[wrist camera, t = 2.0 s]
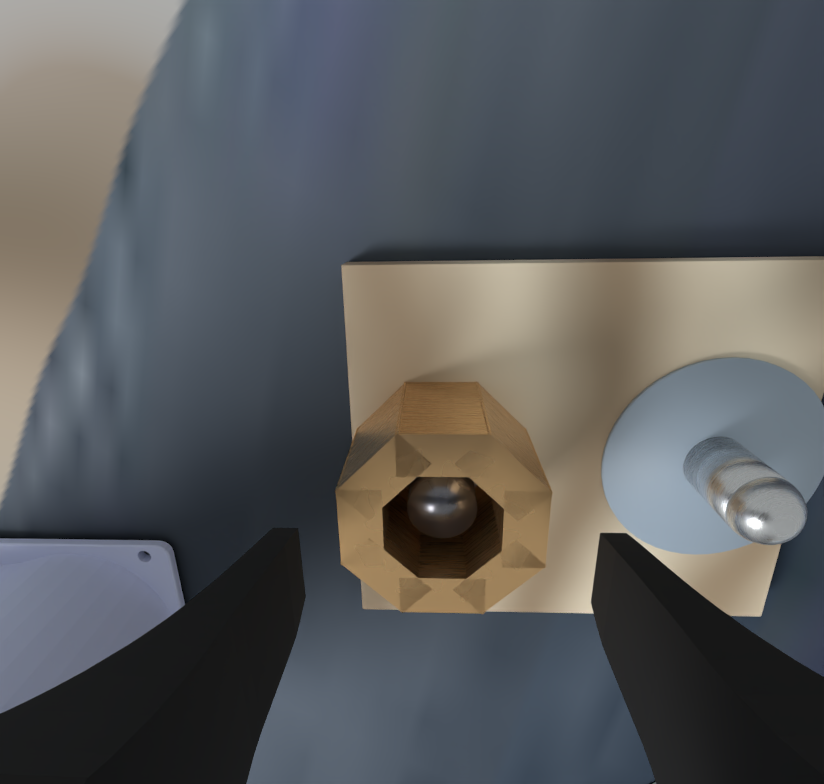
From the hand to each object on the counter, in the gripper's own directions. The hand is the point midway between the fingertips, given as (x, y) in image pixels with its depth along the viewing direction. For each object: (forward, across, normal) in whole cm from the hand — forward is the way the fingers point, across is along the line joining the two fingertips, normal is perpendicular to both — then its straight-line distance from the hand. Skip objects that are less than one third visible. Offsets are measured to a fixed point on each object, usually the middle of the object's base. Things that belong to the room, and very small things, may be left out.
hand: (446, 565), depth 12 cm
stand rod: (+6, 0, 0) cm, 6 cm away
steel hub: (+6, -9, 0) cm, 10 cm away
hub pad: (+6, -9, 0) cm, 10 cm away
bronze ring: (+6, 0, 0) cm, 6 cm away
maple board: (+6, -4, 0) cm, 8 cm away
